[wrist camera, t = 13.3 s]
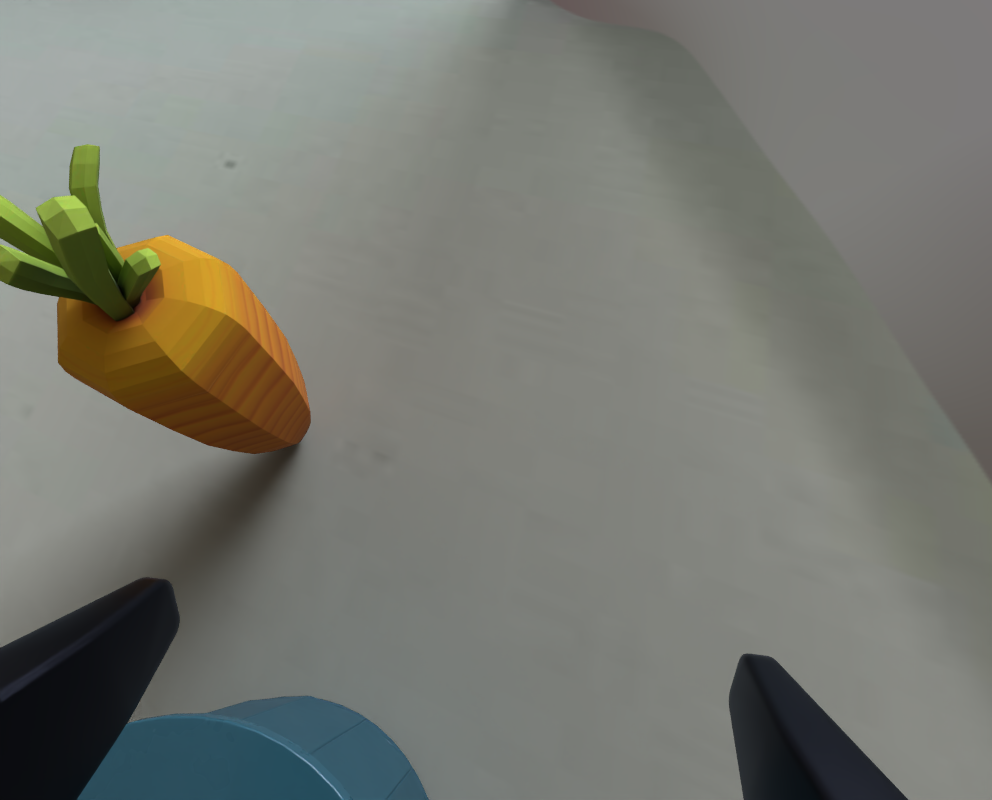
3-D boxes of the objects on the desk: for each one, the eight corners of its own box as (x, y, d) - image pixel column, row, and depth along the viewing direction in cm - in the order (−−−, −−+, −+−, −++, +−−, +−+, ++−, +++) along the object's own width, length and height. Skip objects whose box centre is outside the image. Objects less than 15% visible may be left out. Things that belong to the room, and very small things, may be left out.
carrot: (220, 428, 25) (-173, 184, 11) (314, 361, 26) (62, 58, 12) (278, 515, 23) (-93, 360, 9) (375, 440, 24) (170, 199, 10)
